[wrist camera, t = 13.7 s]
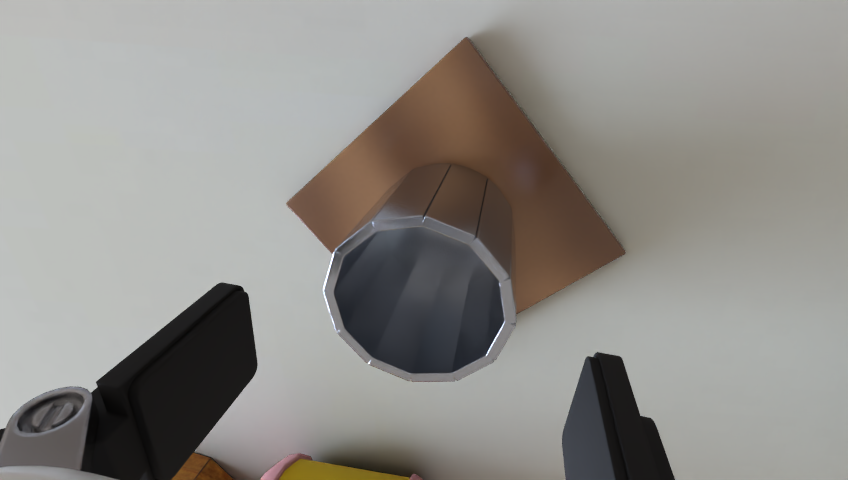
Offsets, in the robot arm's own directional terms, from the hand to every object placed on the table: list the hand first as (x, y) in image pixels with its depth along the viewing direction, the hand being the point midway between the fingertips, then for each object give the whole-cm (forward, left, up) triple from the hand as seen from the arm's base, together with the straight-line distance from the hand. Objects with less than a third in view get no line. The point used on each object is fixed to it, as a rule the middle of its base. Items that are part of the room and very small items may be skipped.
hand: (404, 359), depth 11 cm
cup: (+1, 0, -10) cm, 10 cm away
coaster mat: (0, 0, -11) cm, 11 cm away
